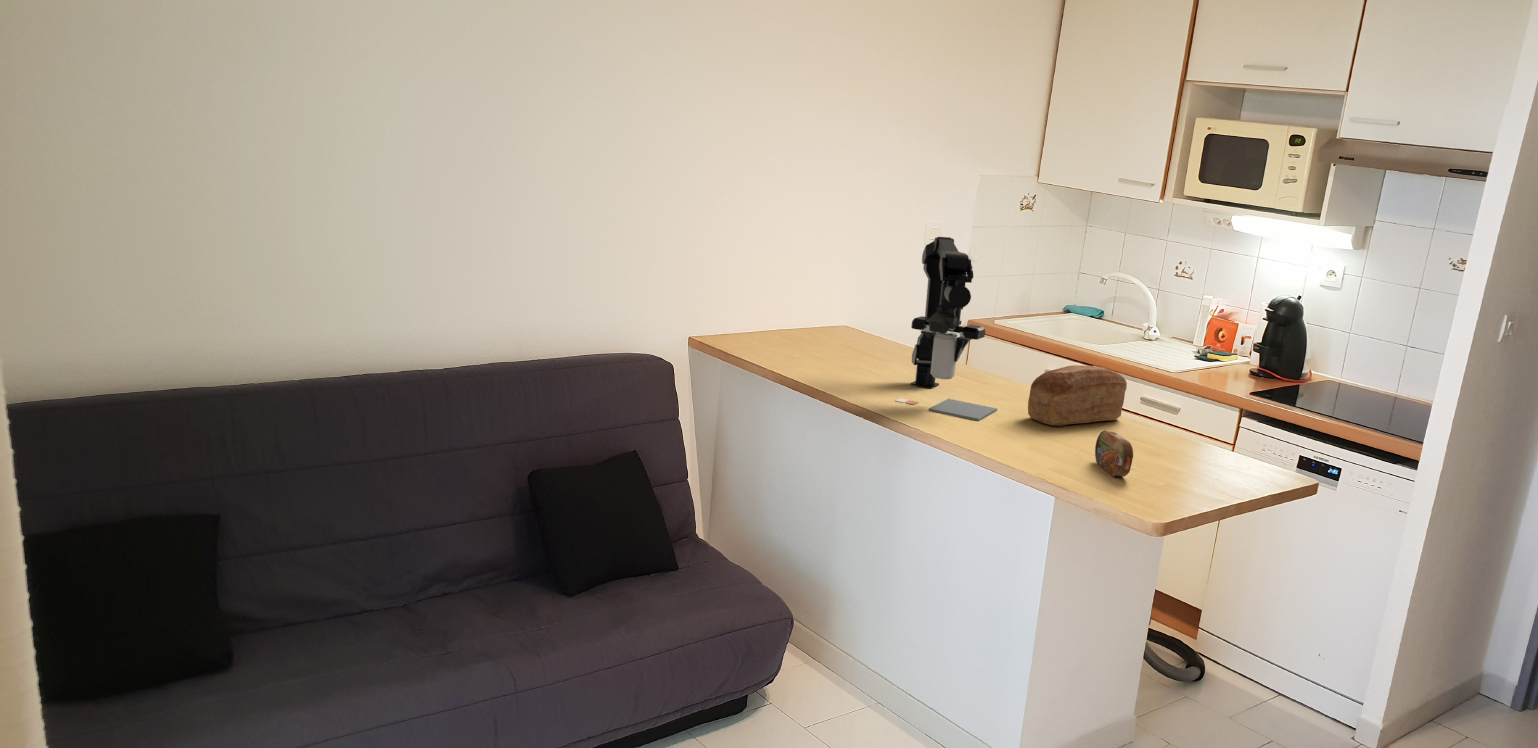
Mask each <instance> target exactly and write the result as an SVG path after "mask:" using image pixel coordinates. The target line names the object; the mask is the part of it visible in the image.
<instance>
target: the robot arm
mask: <svg viewBox="0 0 1538 748" xmlns="http://www.w3.org/2000/svg"><path fill="white" fill-rule="evenodd" d="M921 263H922V264H923V267H922V268H923V272H924V273H925V275H926V278H927V288H926V300H925V314H924V316H922V315H921V316H918V317H914V318H913V320H912V321H911V326H910V327H911V329H913V330H918V331H920V334H919V335H918V337H917V340H916V344H915V345H914V347H913V351H912V353H911V363H912V364H913V366H916V371H915V378H914V379H915V380H914V381H912V382H910V385H911V386H917V387H920V388H921V387H922V388H927V389H933V388H935V387H938V386H939V385H940V383H939V382H936V379H937V378H934V377H933V376H932V375H931V373H930V372H931V363H932V353H933V343H934V336H935V335H936V332H940V333H946V332H953V333H956V334H959V336H957V338H956V340H957V346H956V352H955V360H954V361H955V362H956V363H957V362H958V361H959V359H960V357H961V355H962V354H963V352H964V350H965V348H966V346H967V345H968V343H969V342H970V341H971V340H980V339H983V338H985V337H986V329H985V327H984V326H981V325H976V324H969V325H966V326H963V325H962V320H961V314H962V310H963V309H964V308H965V307H966V306H968V305H969V303H970V302H971V299H972V294H971V291H970V290H969V288H968V287H966V283H972V282H973V278H974V270H973V263H972V260H971V258H970V257H969V255H968V254H967V253H965V252H961V251H959V250H958V248H957V247H956V244H955V239H954V238H952V237H950V236H936V237H934V240H933V241H931V242H930V243H928V244H926V245H925V246H924V249H923V251H922V256H921ZM961 325H962V326H961Z"/></svg>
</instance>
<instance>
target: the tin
mask: <svg viewBox="0 0 1538 748" xmlns="http://www.w3.org/2000/svg"><path fill="white" fill-rule="evenodd" d="M1094 456H1095V461H1096V464H1097V466H1099V467H1100V468H1101V469H1103V470H1104V471H1105V472H1106V473H1108V474H1109V475H1110V476H1111V477H1122V478H1123V477H1126V476H1127V475H1128V474H1130V472H1131V467H1132V465H1133V464H1132V463H1133V459H1134V450H1133V446H1132V444H1131V442H1130V441H1129V440H1127V439H1126V438H1124V437H1123V436H1121V435H1120V434H1119V433H1117V432H1115V431H1109V430H1105V429H1104V430H1102V431H1101V432H1100V433H1099V434H1098V437H1097V438H1096V441H1095V448H1094Z"/></svg>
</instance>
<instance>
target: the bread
mask: <svg viewBox="0 0 1538 748" xmlns="http://www.w3.org/2000/svg"><path fill="white" fill-rule="evenodd" d="M1127 385H1128V383H1127V380H1126V379H1125V378H1124V377H1123V375H1121V374H1119V373H1118V372H1115V371H1113V370H1111V369H1109V368H1106V367H1103V366H1094V365H1077V364H1076V365H1068V366H1064V367H1060V368H1056V369H1051V370H1048V371H1046V372H1043V373H1041V374H1040V375H1039V376H1037V377H1036V378H1035V379H1034V380H1033V381H1032V383H1031V384H1030V391H1029V397H1028V402H1027V414H1028V416H1029V417H1030V418H1031V419H1032V420H1035V421H1036V422H1039V423H1042V424H1045V425H1049V426H1058V427H1060V426H1063V427H1064V426H1068V425H1073V424H1074V425H1075V424H1088V423H1094V422H1102V421H1103V422H1104V421H1105V422H1106V421H1115V420H1116V419H1119V418H1120V417H1121V416H1122V409H1123V406H1124V401H1125V394H1126V391H1127Z"/></svg>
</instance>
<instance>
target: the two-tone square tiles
mask: <svg viewBox="0 0 1538 748" xmlns="http://www.w3.org/2000/svg"><path fill="white" fill-rule="evenodd" d="M894 401H895V402H897V403H901V404H902V403H903V404H904V403H905V404H907V405H911V404H912V405H913V406H916V405H918V404H919V402H920V401H916V400H915V401H914V400H910V399H906V398H902V397H899V398H897V399H895V400H894Z"/></svg>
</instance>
